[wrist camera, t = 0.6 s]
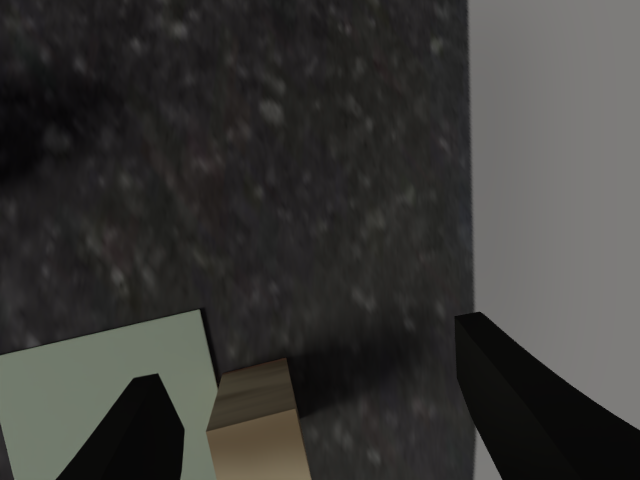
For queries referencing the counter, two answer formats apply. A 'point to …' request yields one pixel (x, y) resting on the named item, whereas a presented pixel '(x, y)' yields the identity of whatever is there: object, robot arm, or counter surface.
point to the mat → (104, 391)
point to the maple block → (257, 426)
